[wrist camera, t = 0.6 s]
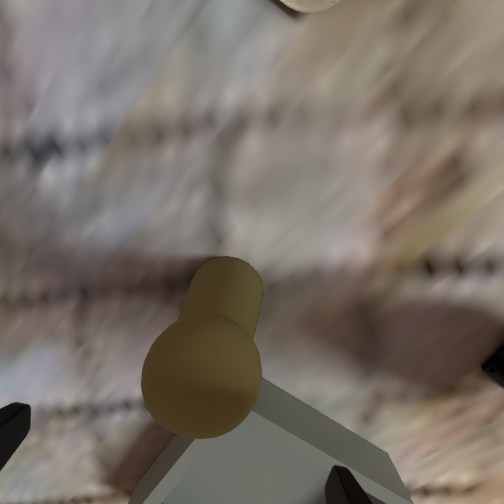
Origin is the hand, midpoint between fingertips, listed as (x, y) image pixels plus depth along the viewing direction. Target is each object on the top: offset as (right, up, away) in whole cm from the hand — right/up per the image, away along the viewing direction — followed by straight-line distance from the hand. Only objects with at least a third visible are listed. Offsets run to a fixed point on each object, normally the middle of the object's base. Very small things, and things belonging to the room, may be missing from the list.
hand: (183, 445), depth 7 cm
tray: (+3, -16, +17) cm, 24 cm away
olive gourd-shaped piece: (0, +2, +13) cm, 13 cm away
